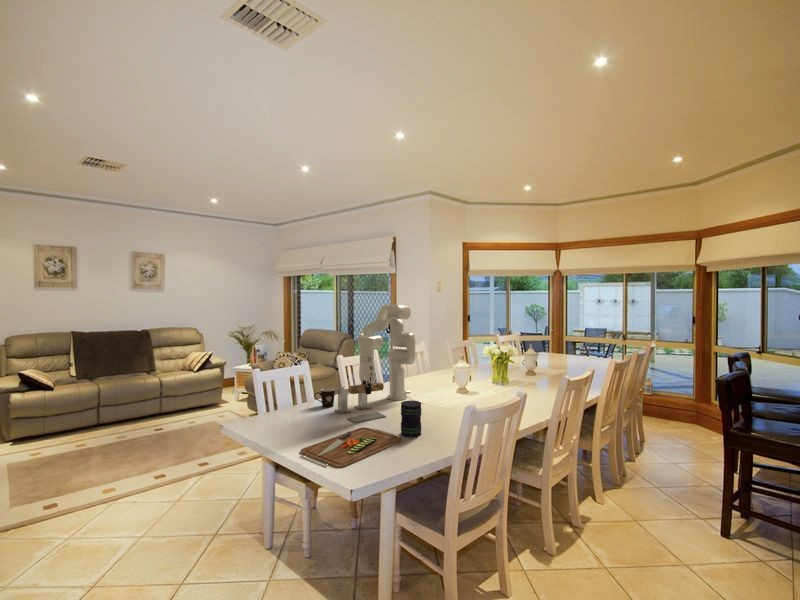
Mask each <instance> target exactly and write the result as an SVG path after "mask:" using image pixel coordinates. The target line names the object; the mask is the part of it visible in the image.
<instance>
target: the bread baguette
mask: <svg viewBox="0 0 800 600" xmlns="http://www.w3.org/2000/svg"><path fill="white" fill-rule="evenodd" d="M347 389H348V392H349V394H350V395H356V394H357V395H358V393H365V392H366V384H363V385H361V384H357V385H349V386H348V388H347ZM379 391H384V383H383V382H374V383H373V384H372V387H371V393H372V392H379Z"/></svg>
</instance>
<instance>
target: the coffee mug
mask: <svg viewBox="0 0 800 600" xmlns="http://www.w3.org/2000/svg"><path fill="white" fill-rule="evenodd" d="M317 394H319V395H320V397H321V400H320V399H319V398H317V397H316V395H317ZM335 394H336V389H335V388H332V387H324V388H323V387H322V388H321V389H320V392H315V393H314V395H313V397H314V398H315V400H317V402H320V403H321V406H322V408H326V409H328V408H329V409H330V408H333V407H334V404H335V396H336V395H335Z"/></svg>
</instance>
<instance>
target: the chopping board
mask: <svg viewBox="0 0 800 600" xmlns="http://www.w3.org/2000/svg"><path fill="white" fill-rule="evenodd" d="M398 436H399V437H398ZM402 440H404V439H403V438H402V437H400V435H398V434H395V433H392V432H388V431H385V430H382V429H378V428H371V427H370V428H369V427H364V426H363V427H358V428H356V429H353V430H350V431H347V432H345V433H341V434H339V435H336V436H334V437H331V438H328V439H325V440H322V441H319V442H317V443H314V444H312V445H309V446H305V447H303V448H301V449H300V452H299V453H300V454H301V455H300V456H299V458H301V459H304V460H306V461H308V462H311V463H313V464H315V465H318V466H320V467H322V468H325V469H326V468H328V466H331V467H333V468H338V469H343V468H347V467H349V466H352V465H353V464H355V463H358V462H360V461H362V460H365V459H367V458H369V457H372V456H374V455H375V454H377V453H380V452H382V451H385V450H387V449H389V447H390V448H392V447H393V445H394V446H396V445H398V444H401V443H402V442H403V441H402ZM400 442H401V443H400ZM397 443H398V444H397ZM395 444H396V445H395ZM391 446H392V447H391ZM313 459H314V460H313ZM315 460H316V461H315ZM317 461H318V462H317ZM322 463H323V464H322Z"/></svg>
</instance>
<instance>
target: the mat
mask: <svg viewBox="0 0 800 600" xmlns="http://www.w3.org/2000/svg"><path fill="white" fill-rule="evenodd" d="M386 417H387V415H384V414H382V413H380V412H379V411H376V412H372V413H366V414H361V415H354V416H350V417H347V418H346V420H349V421H350V422H352V423H353V424H359V423H364V422H368V421H373V420H378V419H383V418H386Z"/></svg>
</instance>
